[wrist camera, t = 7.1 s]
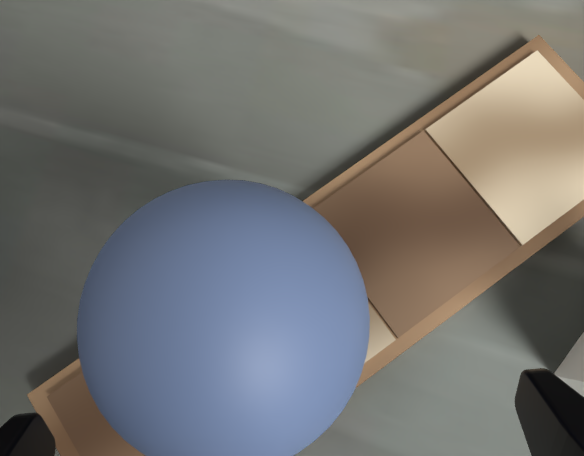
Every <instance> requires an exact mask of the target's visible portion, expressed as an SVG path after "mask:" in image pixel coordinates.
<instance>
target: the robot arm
mask: <svg viewBox="0 0 584 456" xmlns="http://www.w3.org/2000/svg"><path fill="white" fill-rule="evenodd" d="M515 407H516V411H517V415H518V417H519V420H520V423H521V426H522V429H523V432H524V435H525V438H526V441H527V444H528V447H529V450H530V452H531V455H532V456H584V397H583V396H582V395H581V394H579V393H578V392H577V391H575V390H574V389H573V388H571V387H570V386H569V385H568V384H566V383H565V382H564V381H562V380H561V379H560V378H559V377H557V376H556V375H555V374H553V373H552V372H551V371H549V370H547V369H543V368H540V369H528V370H524V371H523V372H522V373H521V375H520V379H519V383H518V387H517V391H516V396H515ZM55 447H56V444H55V438H54V436H53V434H52V433H51V431H50V429H49V428H48V426H47V424H46V423H45V421H44V420H43V418H42V416H41V415H40V414H38V413H25V414H18V415H15V416H13V417H12V418H10V419H9V420H8V421H7V422H6V423H5V424H4V425H3V426H2V427H1V428H0V456H54V454H55Z"/></svg>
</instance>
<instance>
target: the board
mask: <svg viewBox="0 0 584 456" xmlns="http://www.w3.org/2000/svg"><path fill="white" fill-rule="evenodd" d="M303 202H304V203H306V204H307V205H309V206H310V207H312V208H313V209H314V210H315V211H317V212H318V213H319V214H320V215H321V216H323V217H324V218H325V219H326V220H327V221H328V222H329V223H330V224H331V225H332V226H333V228H334V229H335V230H336V231H337V232H338V233H339V235H340V236H341V237H342V239H343V240H344V242H345V243H346V244H347V246H348V247H349V249H350V251H351V253H352V255H353V257H354V259H355V260H356V262H357V265H358V267H359V270H360V273H361V275H362V278H363V281H364V285H365V289H366V293H367V297H368V306H369V315H370V328H369V342H368V349H367V355H366V359H365V363H364V366H363V369H362V373H361V376H360V378H359V381H358V383H357V385H356V387H358V386H359V385H360V384H362V383H363V382H364V381H366V380H367V379H368V378H370V377H371V376H372V375H374V374H375V373H376V372H378V371H379V370H380V369H382V368H383V367H384V366H386V365H387V364H388V363H390V362H391V361H392V360H394V359H395V358H396V357H398V356H399V355H400V354H402V353H403V352H404V351H406V350H407V349H408V348H410V347H411V346H412V345H414V344H415V343H416V342H418V341H419V340H420V339H422V338H423V337H424V336H426V335H427V334H428V333H430V332H431V331H432V330H434V329H435V328H436V327H438V326H439V325H440V324H442V323H443V322H444V321H446V320H447V319H448V318H450V317H451V316H452V315H454V314H455V313H456V312H457V311H459V310H460V309H461V308H463V307H464V306H465V305H467V304H468V303H469V302H471V301H472V300H473V299H475V298H476V297H477V296H479V295H480V294H481V293H483V292H484V291H485V290H487V289H488V288H489V287H491V286H492V285H493V284H495V283H496V282H497V281H499V280H500V279H501V278H503V277H504V276H505V275H507V274H508V273H509V272H511V271H512V270H513V269H515V268H516V267H517V266H519V265H520V264H521V263H523V262H524V261H525V260H527V259H528V258H529V257H531V256H532V255H533V254H535V253H536V252H537V251H539V250H540V249H541V248H543V247H544V246H545V245H547V244H548V243H549V242H551V241H552V240H553V239H555V238H556V237H557V236H559V235H560V234H561V233H563V232H564V231H565V230H567V229H568V228H569V227H571V226H572V225H573V224H575V223H576V222H577V221H579V220H580V219H581V218H583V217H584V82H583V81H582V80H581V79H580V78H579V77H578V76H577V74H576V73H575V72H574V71H573V70H572V69H571V68H570V67H569V66H568V65H567V64H566V63H565V62H564V61H563V60H562V59H561V58H560V56H559V55H558V54H557V53H556V52H555V51H554V50H553V49H552V48H551V47H550V46H549V45H548V44H547V43H546V42H545V41H544V40H543V39H542V37H541V36H540V35H538V36H537V37H535V38H534V39H532V40H531V41H530V42H528V43H527V44H525V45H524V46H522V47H521V48H520V49H518V50H517V51H515V52H514V53H512V54H511V55H510V56H508V57H507V58H505V59H504V60H502V61H501V62H500V63H498V64H497V65H495V66H494V67H493V68H491V69H490V70H488V71H487V72H485V73H484V74H483V75H481V76H480V77H478V78H477V79H475V80H474V81H473V82H471V83H470V84H468V85H467V86H466V87H464V88H463V89H461V90H460V91H458V92H457V93H456V94H454V95H453V96H451V97H450V98H448V99H447V100H446V101H444V102H443V103H441V104H440V105H438V106H437V107H436V108H434V109H433V110H431V111H430V112H429V113H427V114H426V115H424V116H423V117H421V118H420V119H419V120H417V121H416V122H414V123H413V124H411V125H410V126H409V127H407V128H406V129H404V130H403V131H401V132H400V133H399V134H397V135H396V136H394V137H393V138H392V139H390V140H389V141H387V142H386V143H384V144H383V145H382V146H380V147H379V148H377V149H376V150H374V151H373V152H372V153H370V154H369V155H367V156H366V157H364V158H363V159H362V160H360V161H359V162H357V163H356V164H355V165H353V166H352V167H350V168H349V169H347V170H346V171H345V172H343V173H342V174H340V175H339V176H337V177H336V178H335V179H333V180H332V181H330V182H329V183H327V184H326V185H325V186H323V187H322V188H320V189H319V190H318V191H316V192H315V193H313V194H312V195H310V196H309V197H308V198H306V199H305V200H303ZM356 387H355V388H356ZM27 396H28V398H29V399H30V401H31V403H32V405H33V407H34V409H35V410H36V412H37V413H38V414H40V415H41V416H42V418H43V420H44V421H45V423H46V424H47V426H48V428H49V429H50V431H51V433H52V434H53V436H54V438H55V444H56V448H57V450H58V452H59V454H60V456H146V455H144V454H142V453H141V452H139V451H138V450H137V449H135V448H134V447H133V446H131V445H130V444H129V443H128V442H126V441H125V440H124V439H123V438H122V437H121V436H120V435H119V434H118V433H117V432H116V431H115V430H114V429H113V428H112V427H111V426H110V424H109V423H108V421H107V420H106V419H105V417H104V416H103V415H102V413H101V412H100V411H99V409H98V407H97V405H96V403H95V401H94V400H93V398H92V396H91V394H90V391H89V389H88V386H87V384H86V381H85V379H84V376H83V372H82V367H81V363H80V359H79V358H78V359H77V360H76V361H74V362H73V363H71V364H70V365H68V366H67V367H66V368H64V369H63V370H61V371H60V372H59V373H57V374H56V375H54V376H53V377H51V378H50V379H49V380H47V381H46V382H44V383H43V384H41V385H40V386H39V387H37V388H36V389H34V390H33V391H31V392H30V393H29V394H27Z"/></svg>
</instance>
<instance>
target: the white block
mask: <svg viewBox="0 0 584 456" xmlns="http://www.w3.org/2000/svg"><path fill="white" fill-rule="evenodd" d="M554 374H555V375H556V376H557V377H559V378H560V379H561V380H562V381H564V382H565V383H566V384H568V385H569V386H570V387H571V388H573V389H574V390H575V391H577V392H578V393H579V394H581V395H582V396H583V397H584V332H583V333H582V335H581V336H580V338H579V339H578V340H577V342H576V343H575V345H574V346H573V347H572V349H571V350H570V352H569V353H568V354H567V356H566V357H565V359H564V360H563V362H562V363H561V364H560V366H559V367H558V369H557V370H556V371H555V373H554Z"/></svg>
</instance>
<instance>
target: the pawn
mask: <svg viewBox="0 0 584 456" xmlns="http://www.w3.org/2000/svg"><path fill="white" fill-rule="evenodd" d="M369 328H370V315H369V306H368V297H367V293H366V289H365V285H364V281H363V278H362V275H361V273H360V270H359V267H358V265H357V262H356V260H355V259H354V257H353V255H352V253H351V251H350V249H349V247H348V246H347V244H346V243H345V242H344V240H343V239H342V237H341V236H340V235H339V233H338V232H337V231H336V230H335V229H334V228H333V226H332V225H331V224H330V223H329V222H328V221H327V220H326V219H325V218H324V217H323V216H321V215H320V214H319V213H318V212H317V211H315V210H314V209H313V208H312V207H310V206H309V205H307V204H306V203H304V202H303V201H301V200H299V199H298V198H296V197H294V196H293V195H290V194H288V193H286V192H284V191H282V190H279V189H277V188H274V187H271V186H267V185H264V184H261V183H255V182H249V181H243V180H216V181H205V182H200V183H196V184H191V185H186V186H184V187H181V188H178V189H175V190H172V191H169V192H167V193H165V194H163V195H161V196H159V197H157V198H155V199H153V200H152V201H150V202H149V203H147V204H146V205H144V206H143V207H141V208H139V209H138V210H137V211H136V212H135V213H133V214H132V215H131V216H130V217H129V218H127V219H126V220H125V221H124V222H123V223H122V224H121V225H120V226H119V227H118V229H117V230H116V231H115V232H114V233H113V234H112V235H111V237H110V238H109V239H108V241H107V242H106V243H105V245H104V246H103V248H102V249H101V251H100V252H99V254H98V256H97V258H96V260H95V261H94V263H93V265H92V267H91V270H90V272H89V274H88V277H87V279H86V282H85V285H84V288H83V292H82V296H81V299H80V305H79V311H78V318H77V343H78V352H79V359H80V363H81V367H82V372H83V376H84V379H85V381H86V384H87V386H88V389H89V391H90V394H91V396H92V398H93V400H94V401H95V403H96V405H97V407H98V409H99V411H100V412H101V413H102V415H103V416H104V417H105V419H106V420H107V421H108V423H109V424H110V426H111V427H112V428H113V429H114V430H115V431H116V432H117V433H118V434H119V435H120V436H121V437H122V438H123V439H124V440H125V441H126V442H128V443H129V444H130V445H131V446H133V447H134V448H135V449H137V450H138V451H139V452H141V453H142V454H144V455H146V456H293V455H295V454H297V453H298V452H300V451H301V450H303V449H304V448H305V447H307V446H308V445H309V444H311V443H312V442H314V441H315V440H316V439H317V438H318V437H319V436H320V435H321V434H322V433H323V432H325V431H326V430H327V429H328V428H329V427H330V426H331V424H332V423H333V422H334V421H335V419H336V418H337V417H338V416H339V414H340V413H341V412H342V411H343V409H344V407H345V406H346V404H347V402H348V401H349V399H350V397H351V396H352V394H353V392H354V390H355V387H356V385H357V383H358V381H359V378H360V376H361V373H362V369H363V366H364V363H365V359H366V355H367V349H368V342H369Z"/></svg>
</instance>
